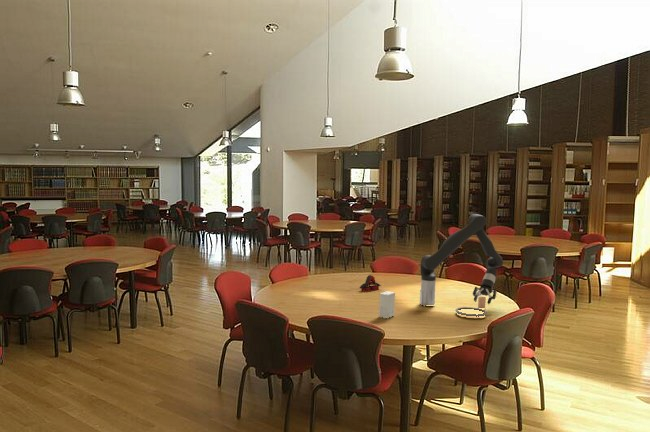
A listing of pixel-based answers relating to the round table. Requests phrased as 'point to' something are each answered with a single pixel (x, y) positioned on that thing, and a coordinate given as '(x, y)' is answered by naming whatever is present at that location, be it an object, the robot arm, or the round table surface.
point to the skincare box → (387, 304)
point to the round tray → (471, 314)
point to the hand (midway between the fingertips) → (481, 302)
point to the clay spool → (481, 302)
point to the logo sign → (369, 288)
